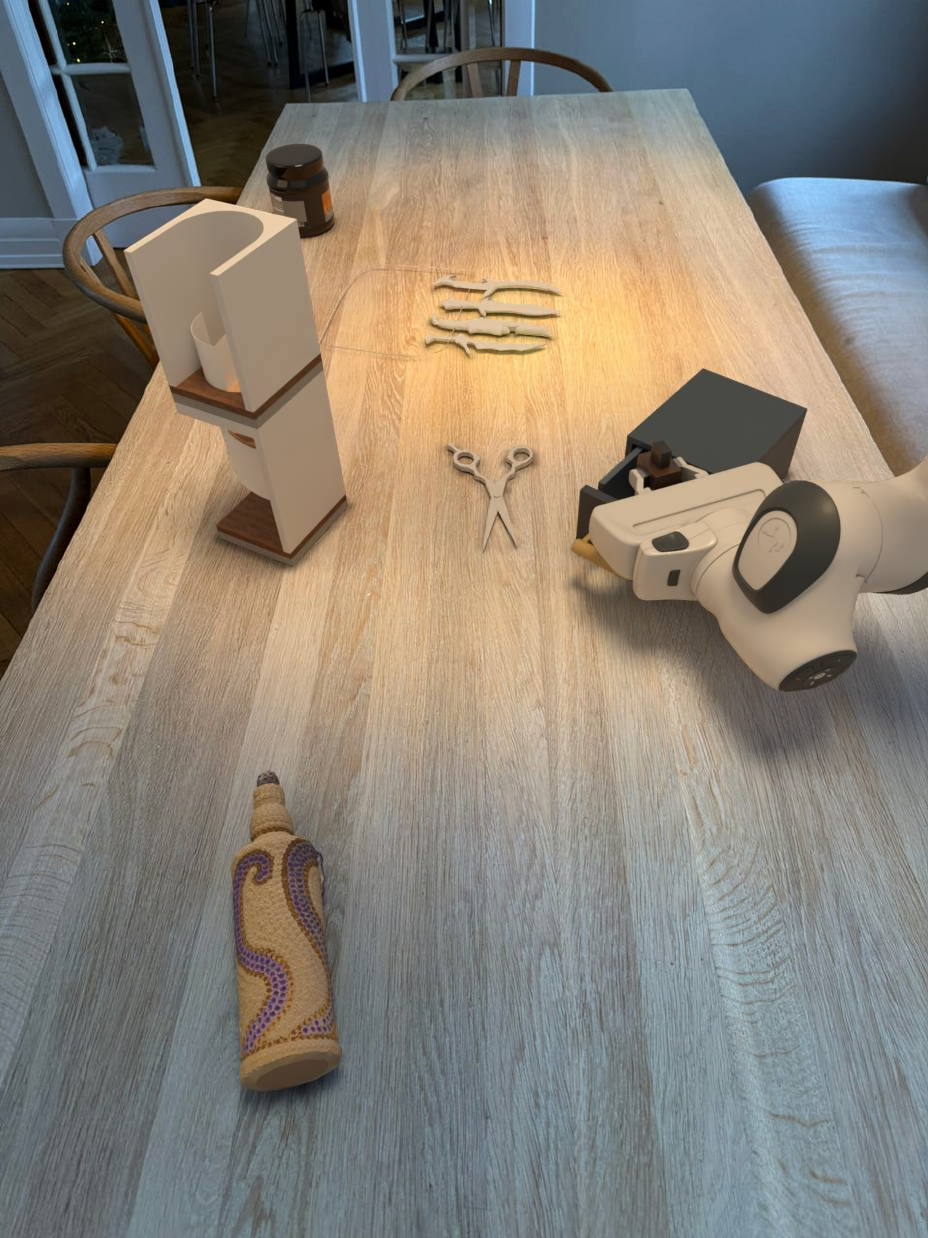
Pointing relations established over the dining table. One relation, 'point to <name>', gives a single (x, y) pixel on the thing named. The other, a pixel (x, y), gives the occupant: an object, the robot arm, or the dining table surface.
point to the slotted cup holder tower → (247, 365)
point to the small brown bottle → (659, 466)
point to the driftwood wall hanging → (484, 314)
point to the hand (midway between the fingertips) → (653, 468)
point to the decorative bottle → (281, 951)
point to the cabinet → (723, 426)
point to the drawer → (608, 491)
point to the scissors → (493, 489)
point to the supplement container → (300, 187)
